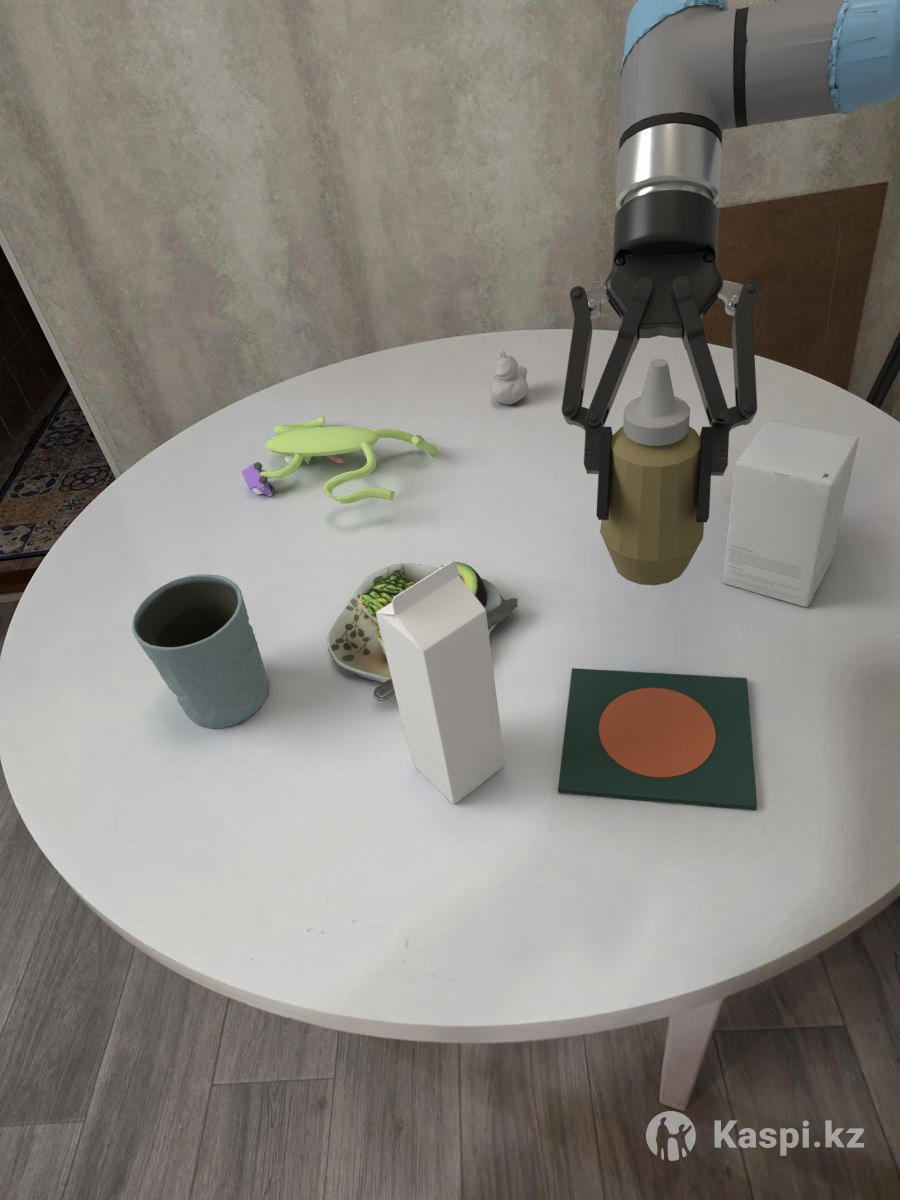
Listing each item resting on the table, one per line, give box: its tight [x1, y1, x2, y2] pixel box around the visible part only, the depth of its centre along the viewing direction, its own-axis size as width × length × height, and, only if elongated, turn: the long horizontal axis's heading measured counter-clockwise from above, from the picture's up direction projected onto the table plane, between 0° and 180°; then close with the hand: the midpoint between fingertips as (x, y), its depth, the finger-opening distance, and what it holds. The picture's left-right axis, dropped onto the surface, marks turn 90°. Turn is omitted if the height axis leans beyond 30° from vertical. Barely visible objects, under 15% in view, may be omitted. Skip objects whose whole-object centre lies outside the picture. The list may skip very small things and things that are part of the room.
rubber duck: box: [490, 349, 529, 405], centre depth 121 cm, size 5×7×8 cm
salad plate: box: [326, 561, 518, 702], centre depth 87 cm, size 19×18×5 cm
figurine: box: [240, 414, 440, 505], centre depth 112 cm, size 18×27×6 cm
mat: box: [557, 667, 758, 811], centre depth 76 cm, size 16×14×1 cm
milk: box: [376, 560, 506, 805], centre depth 69 cm, size 6×6×22 cm
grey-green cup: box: [131, 573, 270, 730], centre depth 82 cm, size 10×10×12 cm
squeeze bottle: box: [599, 358, 705, 586], centre depth 65 cm, size 8×8×18 cm
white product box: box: [722, 418, 860, 608], centre depth 85 cm, size 9×9×15 cm
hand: (651, 518), depth 63 cm, fingers closed on squeeze bottle, 6 cm apart
